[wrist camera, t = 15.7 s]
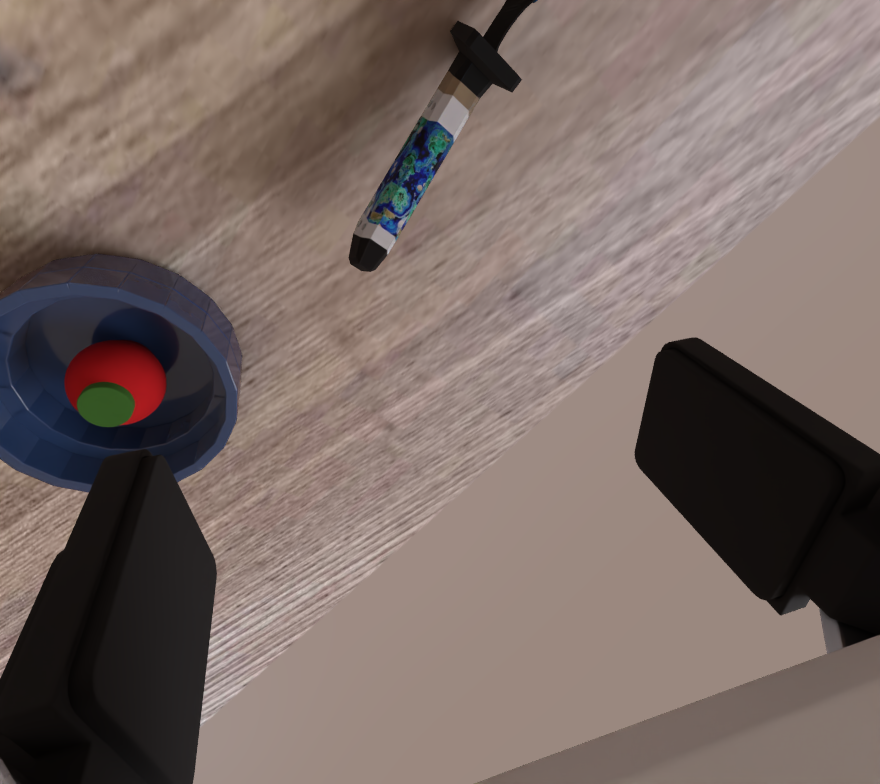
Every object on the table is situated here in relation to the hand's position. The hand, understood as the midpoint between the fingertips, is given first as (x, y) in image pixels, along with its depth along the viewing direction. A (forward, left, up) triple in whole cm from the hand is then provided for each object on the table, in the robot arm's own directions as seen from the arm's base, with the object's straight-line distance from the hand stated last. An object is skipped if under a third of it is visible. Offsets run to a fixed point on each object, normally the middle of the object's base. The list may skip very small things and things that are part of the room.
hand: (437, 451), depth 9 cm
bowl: (+7, -13, -22) cm, 27 cm away
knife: (-9, +11, -23) cm, 27 cm away
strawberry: (+7, -13, -22) cm, 26 cm away
